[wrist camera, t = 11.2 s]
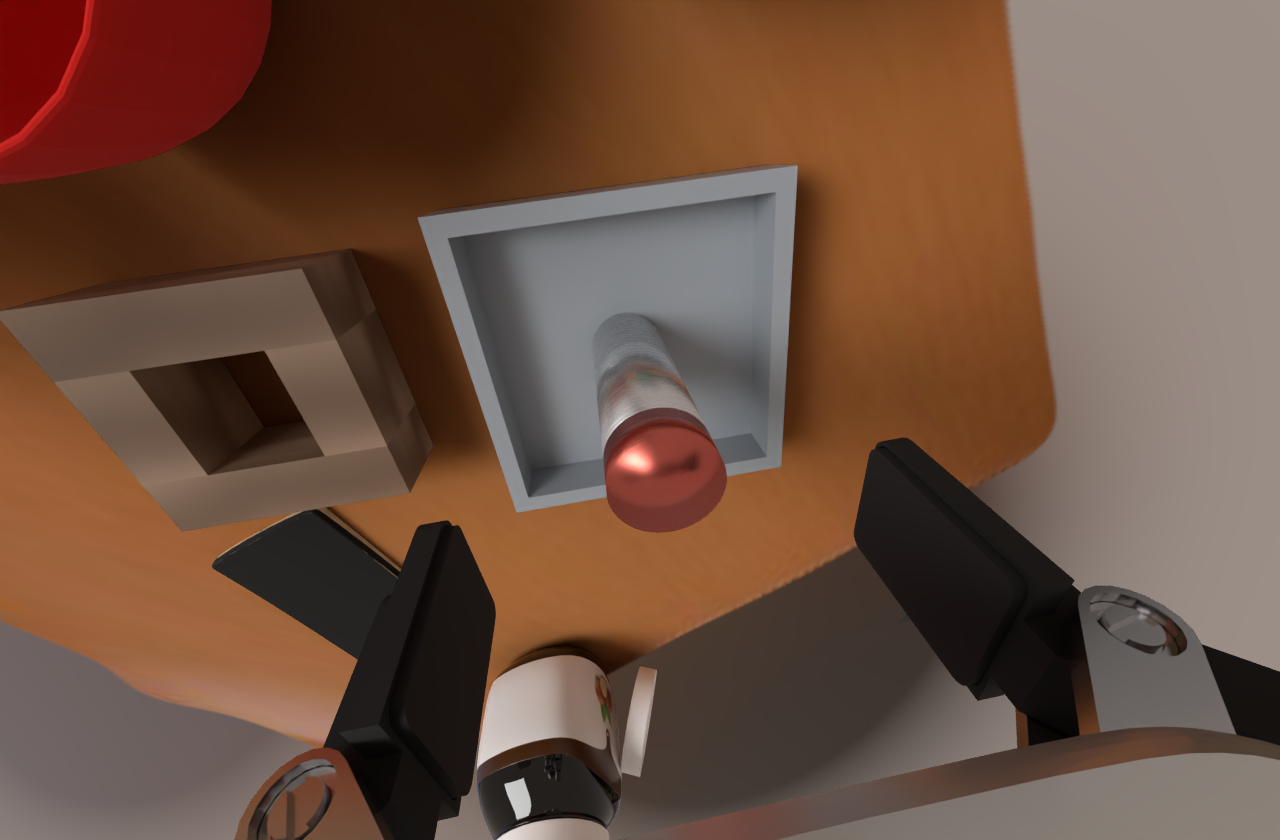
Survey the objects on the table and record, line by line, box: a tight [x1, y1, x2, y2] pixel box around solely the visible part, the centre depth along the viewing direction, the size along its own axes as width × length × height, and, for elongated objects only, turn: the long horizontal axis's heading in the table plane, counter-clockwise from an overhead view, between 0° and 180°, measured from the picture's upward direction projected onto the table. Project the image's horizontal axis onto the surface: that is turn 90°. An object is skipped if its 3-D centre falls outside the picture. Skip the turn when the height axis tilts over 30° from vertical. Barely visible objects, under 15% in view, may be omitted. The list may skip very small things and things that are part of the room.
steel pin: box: [592, 313, 727, 532], centre depth 17 cm, size 3×3×11 cm
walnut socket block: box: [0, 249, 433, 532], centre depth 20 cm, size 10×10×4 cm
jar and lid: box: [477, 646, 657, 840], centre depth 31 cm, size 12×11×12 cm
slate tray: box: [418, 165, 798, 512], centre depth 21 cm, size 14×14×3 cm
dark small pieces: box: [212, 508, 401, 659], centre depth 29 cm, size 7×1×15 cm
